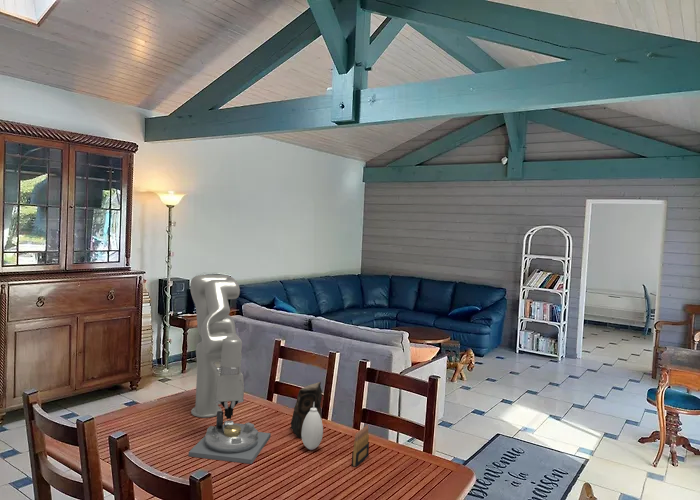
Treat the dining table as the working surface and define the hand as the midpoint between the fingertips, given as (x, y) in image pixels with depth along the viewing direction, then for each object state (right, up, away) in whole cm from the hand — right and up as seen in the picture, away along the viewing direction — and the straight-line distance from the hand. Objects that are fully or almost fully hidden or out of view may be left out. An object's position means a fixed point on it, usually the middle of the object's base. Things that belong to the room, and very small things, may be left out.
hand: (228, 417), depth 192 cm
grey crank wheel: (+3, -7, -6) cm, 9 cm away
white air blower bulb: (+32, -11, -4) cm, 34 cm away
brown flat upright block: (+50, -12, -11) cm, 53 cm away
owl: (+28, -10, +12) cm, 32 cm away
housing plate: (+3, -9, -6) cm, 11 cm away
